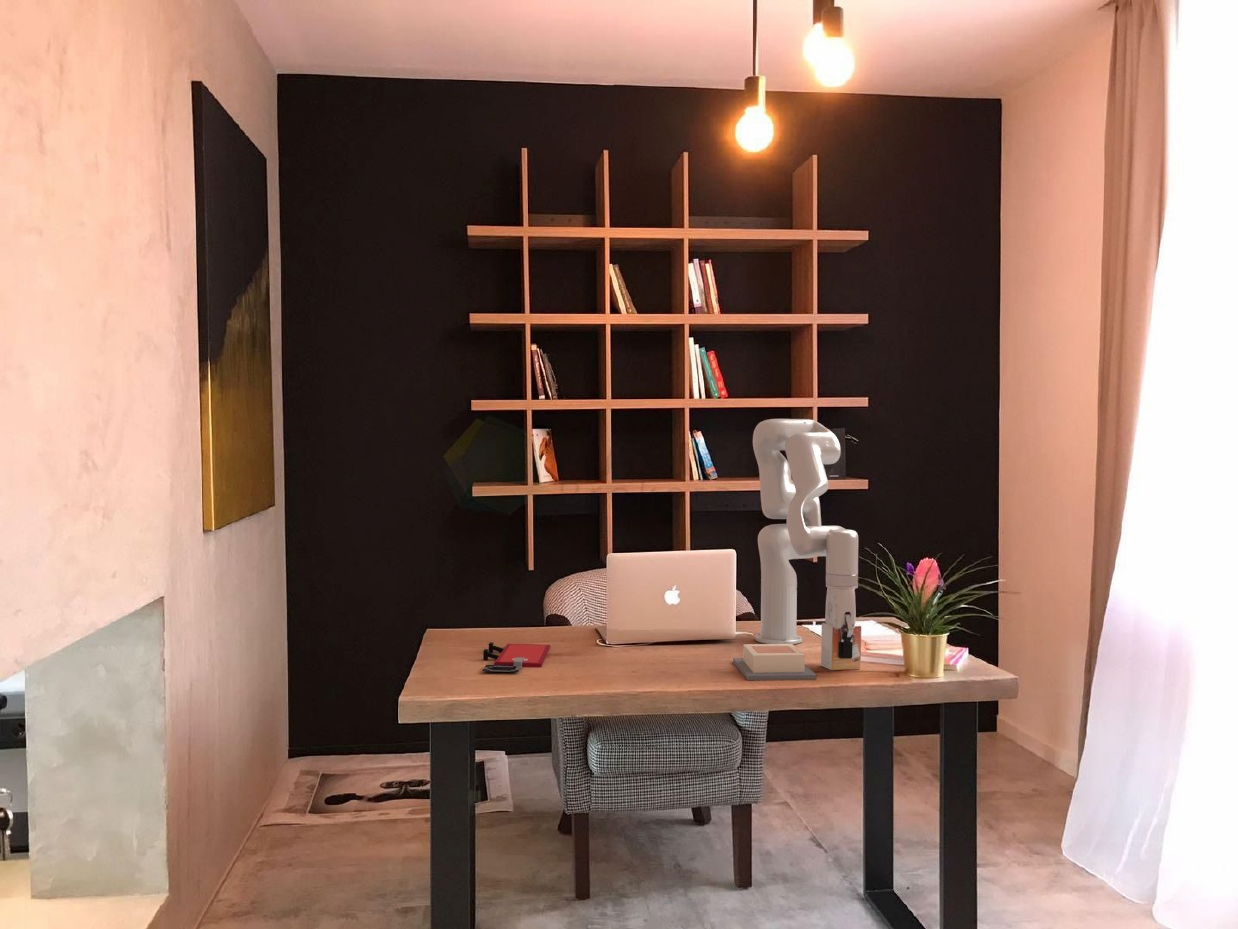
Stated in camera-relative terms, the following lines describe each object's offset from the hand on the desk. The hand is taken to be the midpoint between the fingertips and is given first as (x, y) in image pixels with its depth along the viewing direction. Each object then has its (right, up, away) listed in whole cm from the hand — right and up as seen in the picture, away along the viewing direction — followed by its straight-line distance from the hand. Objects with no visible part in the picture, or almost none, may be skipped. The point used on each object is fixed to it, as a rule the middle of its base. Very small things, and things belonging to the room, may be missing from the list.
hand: (840, 654), depth 243 cm
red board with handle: (-79, -3, +7) cm, 80 cm away
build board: (-17, -3, -3) cm, 17 cm away
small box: (0, -3, 0) cm, 3 cm away
